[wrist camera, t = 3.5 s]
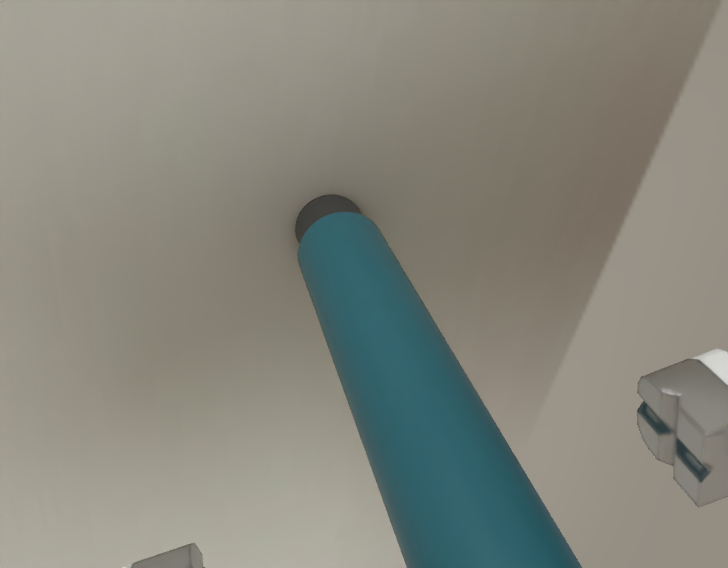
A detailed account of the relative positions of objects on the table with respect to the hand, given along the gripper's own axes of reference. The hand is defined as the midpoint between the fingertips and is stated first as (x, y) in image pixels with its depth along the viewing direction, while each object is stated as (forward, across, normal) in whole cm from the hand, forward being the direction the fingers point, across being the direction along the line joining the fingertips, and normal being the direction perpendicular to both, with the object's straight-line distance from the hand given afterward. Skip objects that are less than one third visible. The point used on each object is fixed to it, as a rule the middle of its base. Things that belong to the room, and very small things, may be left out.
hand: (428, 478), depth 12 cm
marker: (+10, 0, 0) cm, 10 cm away
